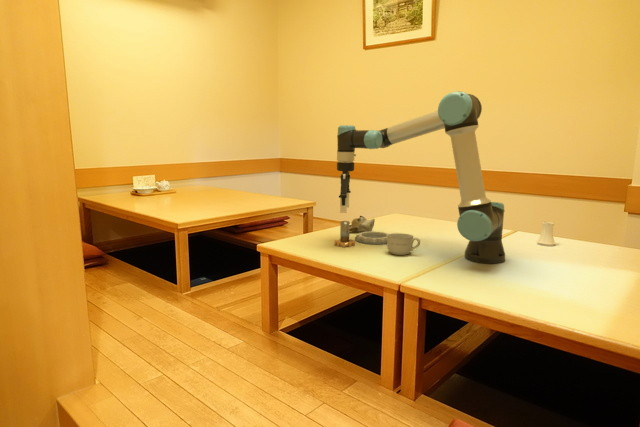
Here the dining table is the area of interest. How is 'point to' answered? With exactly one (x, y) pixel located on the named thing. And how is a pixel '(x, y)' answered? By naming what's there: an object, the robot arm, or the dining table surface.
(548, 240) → the vase
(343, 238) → the sun gear
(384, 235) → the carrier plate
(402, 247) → the teacup
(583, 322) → the dining table surface
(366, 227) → the ceramic sculpture
